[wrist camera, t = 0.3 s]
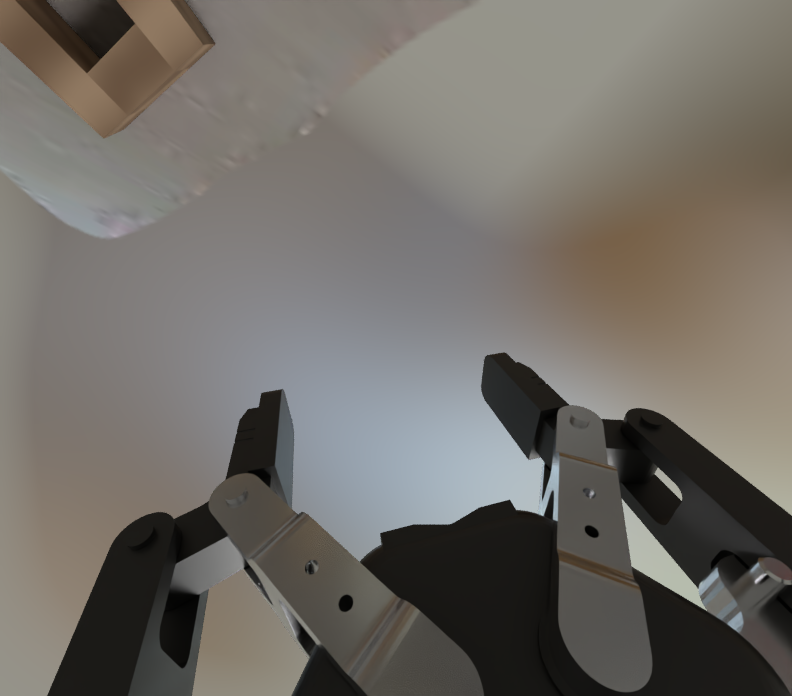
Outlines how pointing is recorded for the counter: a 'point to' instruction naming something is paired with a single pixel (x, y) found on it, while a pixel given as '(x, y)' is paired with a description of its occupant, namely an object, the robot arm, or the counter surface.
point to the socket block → (106, 57)
